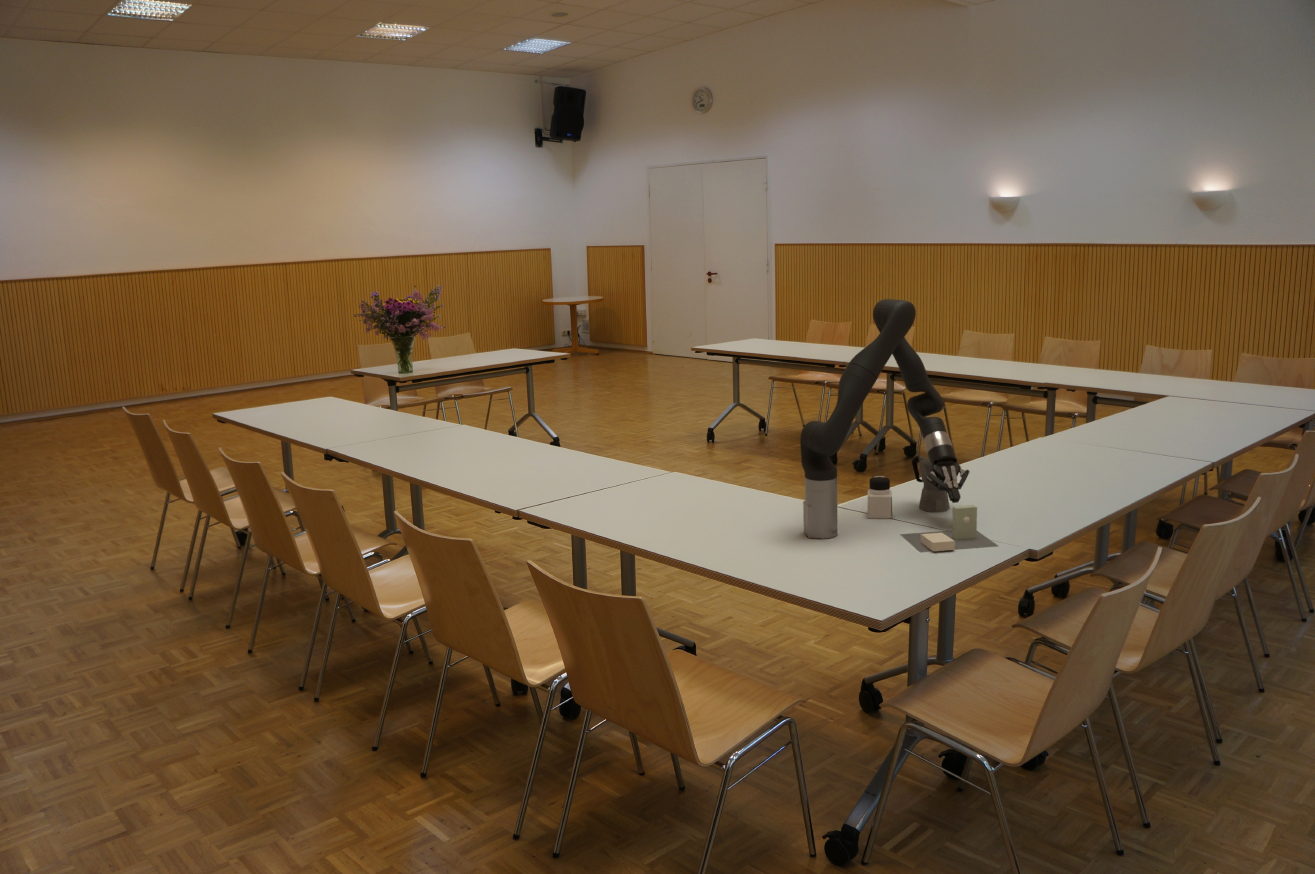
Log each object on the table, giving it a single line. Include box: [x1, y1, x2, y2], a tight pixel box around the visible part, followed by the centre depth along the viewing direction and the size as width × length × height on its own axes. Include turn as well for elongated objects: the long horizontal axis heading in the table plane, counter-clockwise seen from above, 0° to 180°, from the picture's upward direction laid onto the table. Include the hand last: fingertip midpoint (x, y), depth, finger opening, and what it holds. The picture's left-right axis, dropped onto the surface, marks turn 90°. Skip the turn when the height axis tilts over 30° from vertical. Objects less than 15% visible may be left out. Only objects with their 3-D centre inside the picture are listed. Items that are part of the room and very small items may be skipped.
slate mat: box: [899, 529, 999, 553], centre depth 264 cm, size 22×16×1 cm
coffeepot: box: [911, 455, 951, 513], centre depth 295 cm, size 15×9×18 cm, turn 35°
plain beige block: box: [921, 533, 956, 552], centre depth 258 cm, size 6×3×9 cm
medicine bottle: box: [867, 475, 893, 519], centre depth 290 cm, size 7×7×12 cm
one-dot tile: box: [951, 504, 978, 540], centre depth 264 cm, size 6×3×9 cm, turn 95°
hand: (956, 501), depth 270 cm, fingers closed
